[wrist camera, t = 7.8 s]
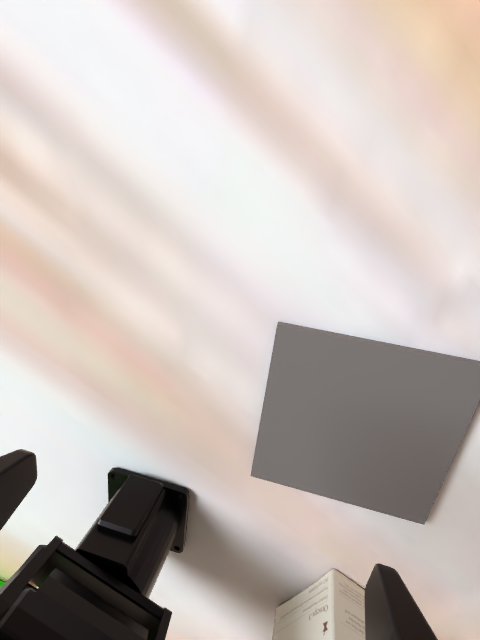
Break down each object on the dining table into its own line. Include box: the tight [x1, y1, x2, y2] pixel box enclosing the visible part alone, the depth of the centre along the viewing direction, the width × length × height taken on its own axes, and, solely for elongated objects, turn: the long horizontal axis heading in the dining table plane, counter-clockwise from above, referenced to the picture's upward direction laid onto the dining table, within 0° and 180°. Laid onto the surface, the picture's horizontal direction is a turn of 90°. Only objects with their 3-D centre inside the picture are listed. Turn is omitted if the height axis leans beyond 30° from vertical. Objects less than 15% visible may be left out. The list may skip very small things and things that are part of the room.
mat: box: [251, 322, 480, 524], centre depth 20 cm, size 11×11×1 cm
